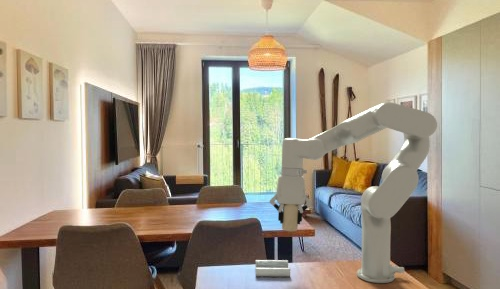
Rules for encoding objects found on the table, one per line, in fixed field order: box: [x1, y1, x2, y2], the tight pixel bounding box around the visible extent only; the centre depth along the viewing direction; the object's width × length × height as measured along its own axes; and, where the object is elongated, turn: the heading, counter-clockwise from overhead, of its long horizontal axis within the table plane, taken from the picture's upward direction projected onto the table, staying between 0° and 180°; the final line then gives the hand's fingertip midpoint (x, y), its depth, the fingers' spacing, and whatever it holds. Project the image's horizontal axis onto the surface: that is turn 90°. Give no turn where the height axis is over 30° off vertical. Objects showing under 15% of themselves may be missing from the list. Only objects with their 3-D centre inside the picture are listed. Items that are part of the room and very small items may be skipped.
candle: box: [281, 204, 299, 232], centre depth 136 cm, size 6×6×10 cm
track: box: [255, 259, 291, 279], centre depth 136 cm, size 12×9×3 cm
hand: (289, 222), depth 136 cm, fingers closed on candle, 5 cm apart
